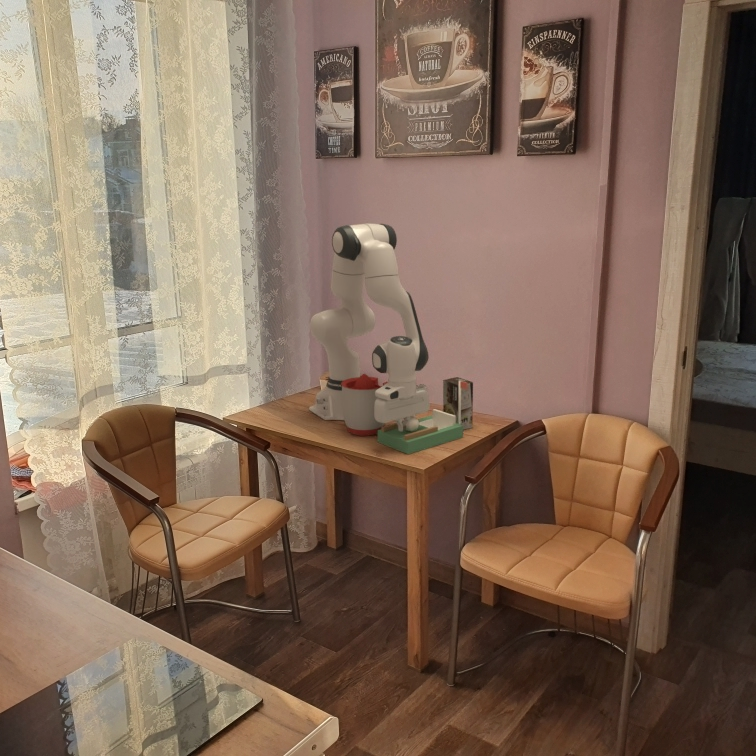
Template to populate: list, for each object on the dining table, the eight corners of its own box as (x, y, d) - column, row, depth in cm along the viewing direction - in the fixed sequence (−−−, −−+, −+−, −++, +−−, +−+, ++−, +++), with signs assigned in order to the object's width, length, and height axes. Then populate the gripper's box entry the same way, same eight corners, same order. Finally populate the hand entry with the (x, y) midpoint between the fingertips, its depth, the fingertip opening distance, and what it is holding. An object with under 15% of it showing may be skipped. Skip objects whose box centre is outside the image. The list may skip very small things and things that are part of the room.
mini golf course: (377, 442, 252) (376, 385, 247) (431, 426, 267) (431, 372, 262) (412, 456, 239) (412, 396, 234) (467, 438, 254) (468, 382, 249)
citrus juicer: (401, 431, 262) (401, 374, 257) (358, 441, 253) (356, 382, 248) (376, 419, 275) (375, 365, 270) (333, 429, 265) (332, 372, 260)
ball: (398, 428, 250) (402, 413, 249) (409, 429, 253) (413, 414, 252) (408, 433, 246) (412, 418, 245) (419, 434, 249) (424, 419, 249)
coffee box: (473, 427, 265) (474, 382, 260) (458, 431, 261) (458, 385, 257) (457, 420, 272) (457, 376, 268) (442, 424, 269) (442, 379, 265)
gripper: (420, 381, 252) (421, 421, 256) (370, 392, 240) (372, 434, 244) (433, 384, 248) (434, 426, 251) (383, 396, 235) (384, 439, 239)
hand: (403, 430), depth 247 cm, fingers closed
